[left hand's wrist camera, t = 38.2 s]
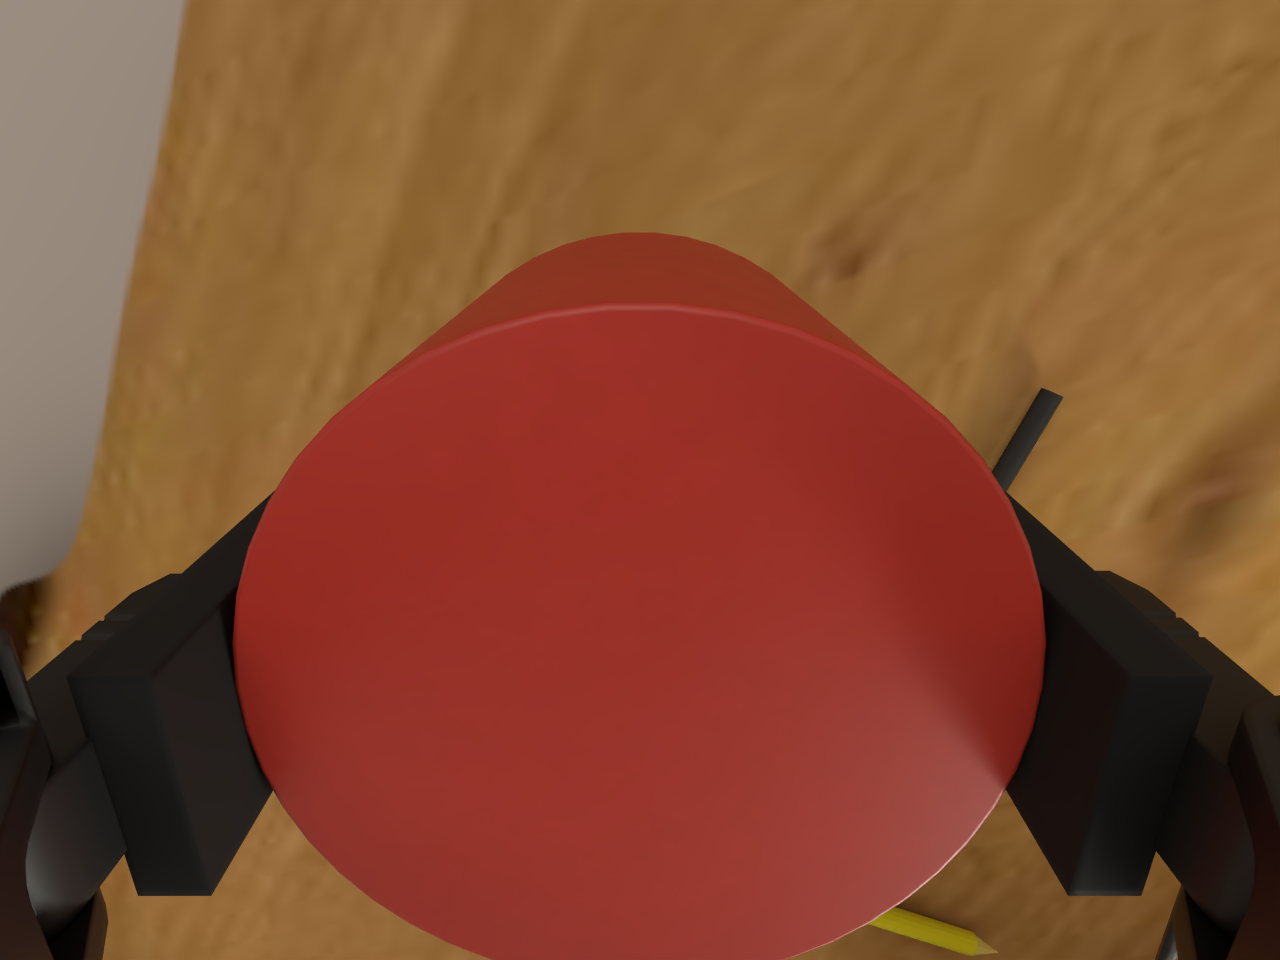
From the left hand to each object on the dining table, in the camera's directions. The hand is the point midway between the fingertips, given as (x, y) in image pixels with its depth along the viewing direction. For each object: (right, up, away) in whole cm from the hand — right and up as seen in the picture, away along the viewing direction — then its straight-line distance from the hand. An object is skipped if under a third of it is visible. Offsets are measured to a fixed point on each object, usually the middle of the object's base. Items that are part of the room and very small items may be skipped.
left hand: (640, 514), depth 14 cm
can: (0, +1, +2) cm, 3 cm away
